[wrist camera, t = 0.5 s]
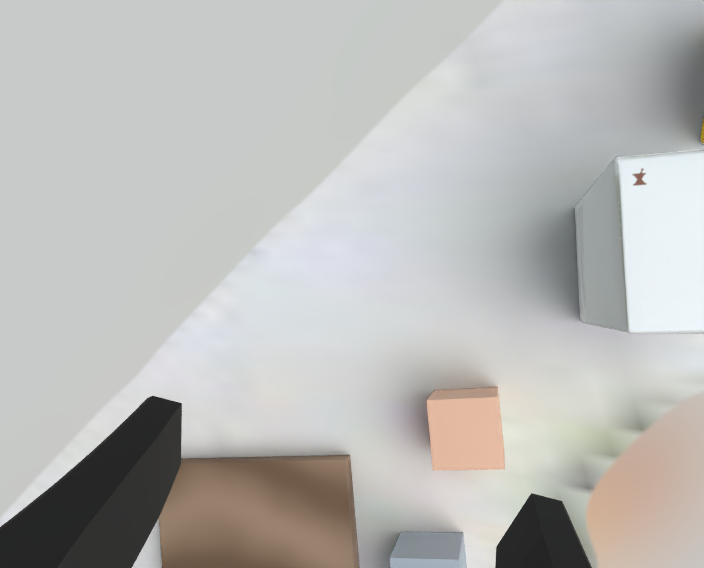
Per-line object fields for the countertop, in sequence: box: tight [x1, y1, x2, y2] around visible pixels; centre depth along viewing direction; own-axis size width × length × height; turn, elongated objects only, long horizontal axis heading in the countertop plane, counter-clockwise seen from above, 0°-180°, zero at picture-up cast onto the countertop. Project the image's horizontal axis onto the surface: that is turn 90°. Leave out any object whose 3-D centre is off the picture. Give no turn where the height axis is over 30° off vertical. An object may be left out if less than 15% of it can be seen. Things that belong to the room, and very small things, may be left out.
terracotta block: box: [427, 387, 505, 470], centre depth 34 cm, size 4×4×4 cm
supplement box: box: [575, 148, 704, 334], centre depth 28 cm, size 7×7×13 cm
